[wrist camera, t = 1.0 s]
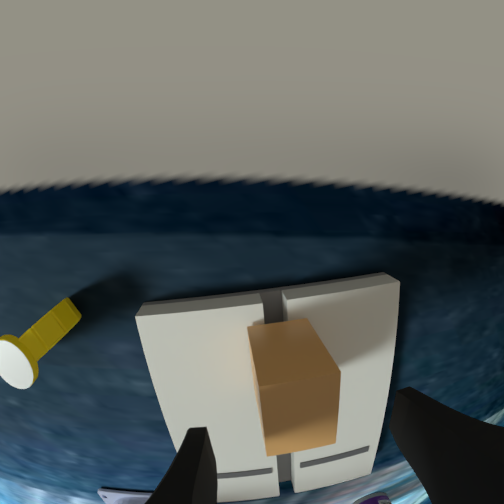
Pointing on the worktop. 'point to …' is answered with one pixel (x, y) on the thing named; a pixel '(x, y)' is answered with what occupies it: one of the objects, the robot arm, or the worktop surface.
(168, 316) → the fader console
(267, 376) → the fader tab
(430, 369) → the worktop surface
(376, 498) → the container
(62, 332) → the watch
